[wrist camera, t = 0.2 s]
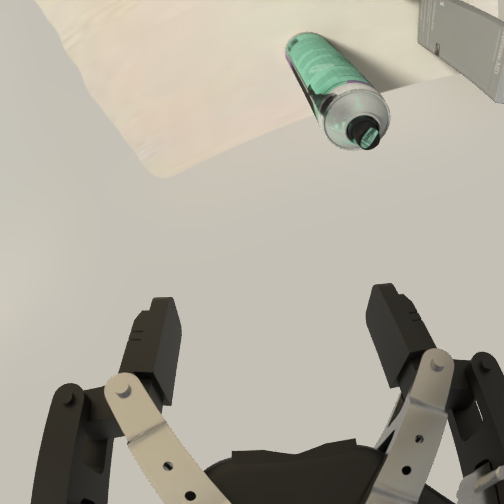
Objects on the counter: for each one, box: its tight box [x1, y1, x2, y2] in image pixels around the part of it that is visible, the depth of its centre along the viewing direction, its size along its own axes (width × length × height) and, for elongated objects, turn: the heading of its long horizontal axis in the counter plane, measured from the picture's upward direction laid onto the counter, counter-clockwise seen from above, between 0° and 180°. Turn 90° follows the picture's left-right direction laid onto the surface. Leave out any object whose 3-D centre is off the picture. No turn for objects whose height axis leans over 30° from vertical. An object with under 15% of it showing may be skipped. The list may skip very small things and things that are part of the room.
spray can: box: [285, 32, 390, 150], centre depth 24 cm, size 6×6×20 cm
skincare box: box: [418, 0, 504, 104], centre depth 19 cm, size 8×7×16 cm
